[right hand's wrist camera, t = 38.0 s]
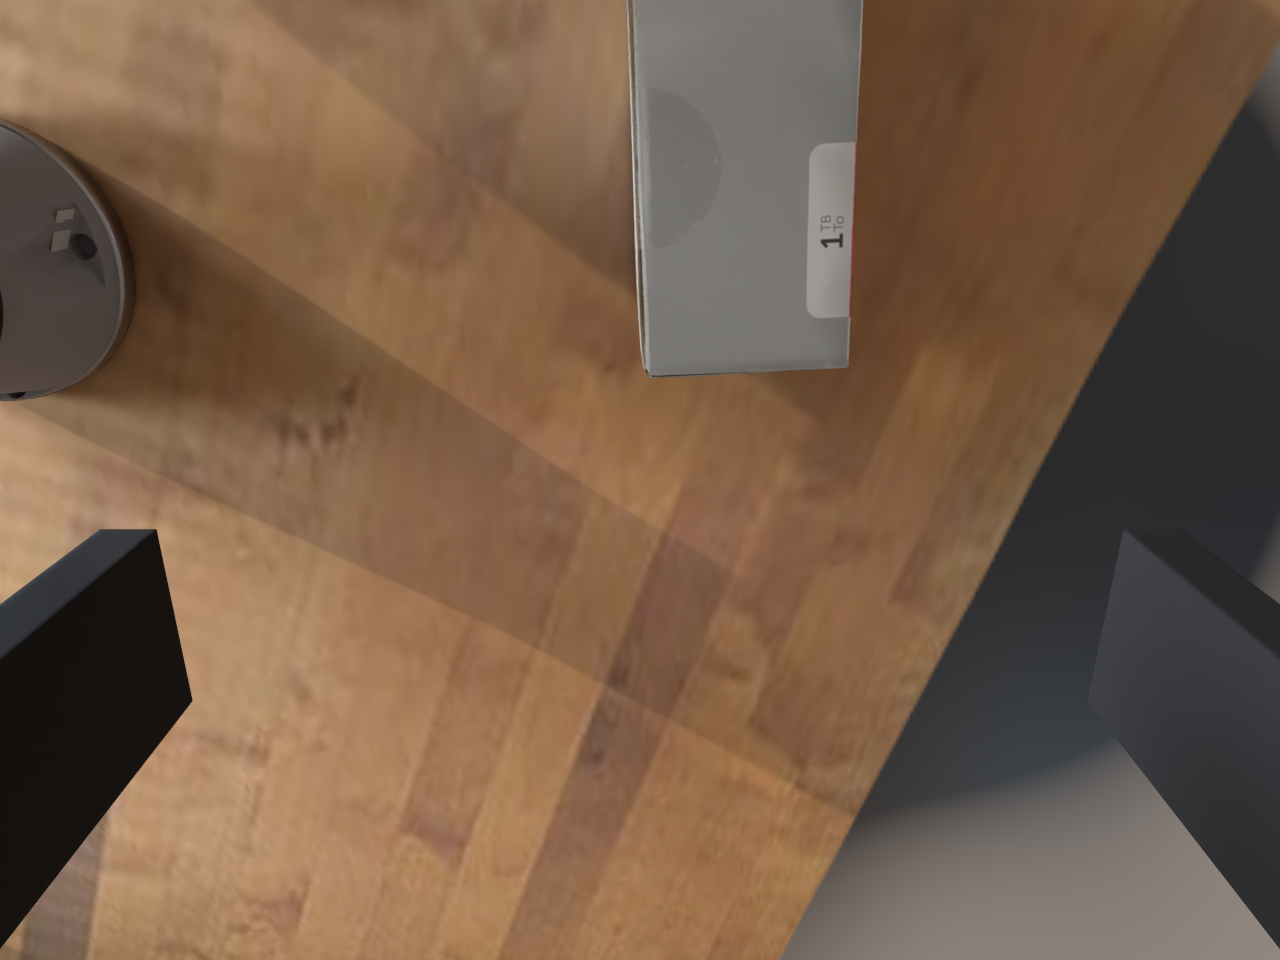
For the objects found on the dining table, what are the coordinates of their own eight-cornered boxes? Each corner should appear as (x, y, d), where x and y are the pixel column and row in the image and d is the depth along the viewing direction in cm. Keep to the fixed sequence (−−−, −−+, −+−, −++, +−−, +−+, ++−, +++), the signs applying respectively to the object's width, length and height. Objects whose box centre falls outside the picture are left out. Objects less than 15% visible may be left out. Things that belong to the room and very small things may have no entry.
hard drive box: (773, 287, 51) (849, 380, 33) (636, 292, 51) (635, 388, 33) (778, -27, 46) (873, -131, 27) (624, -21, 46) (614, -120, 27)
